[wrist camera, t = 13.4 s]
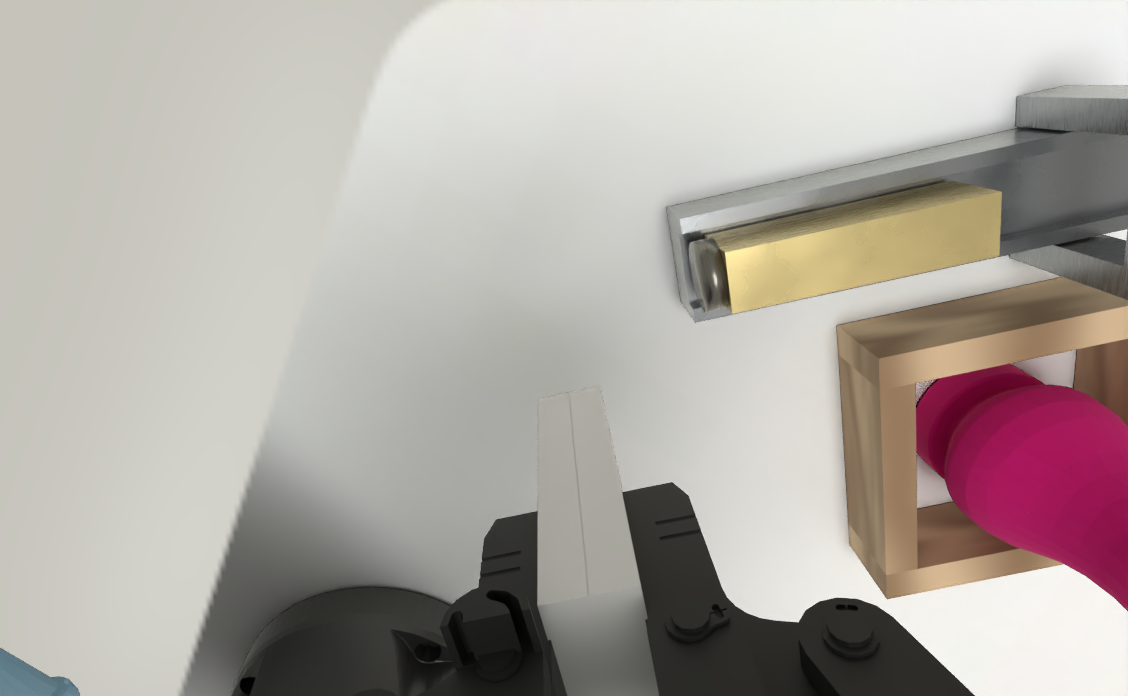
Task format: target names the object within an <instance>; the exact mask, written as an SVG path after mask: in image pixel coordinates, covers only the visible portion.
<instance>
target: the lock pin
mask: <svg viewBox="0 0 1128 696" xmlns="http://www.w3.org/2000/svg"><path fill="white" fill-rule="evenodd" d="M1001 202H1002V192H1001V191H997V190H992V189H988V188H983V187H979V186H974V185H970V184H966V183H961V182H957V181H952V180H951V181H947V182H942V183H938V184H933V185H929V186H924V187H920V188H915V189H911V190H906V191H902V192H897V193H893V194H888V195H884V196H879V197H875V198H870V199H866V200H861V201H857V202H852V203H848V204H843V205H839V206H834V207H829V208H825V209H820V210H816V211H811V212H807V213H802V214H798V215H793V216H789V217H784V218H780V219H775V220H771V221H766V222H762V223H757V224H753V225H748V226H744V227H739V228H735V229H730V230H726V231H721V232H717V233H712V234H708V235H705V239H703V240H698V241H694V242H690V244H689V252H688V253H689V266H690V272H691V278H692V282H693V287H694V290H695V294H696V297H697V300H698V303H699V305H700V307H701V309H702V311H703V312H705V313H706V312H710V311H715V310H720V309H724V308H728V309H729V311H730V312H731V313H732V314H735V313H739V312H744V311H748V310H753V309H758V308H762V307H767V306H771V305H776V304H781V303H785V302H790V301H795V300H799V299H804V298H808V297H813V296H818V295H822V294H827V293H831V292H836V291H841V290H845V289H850V288H854V287H859V286H864V285H868V284H873V283H878V282H882V281H887V280H891V279H896V278H901V277H905V276H910V275H914V274H919V273H924V272H928V271H933V270H938V269H942V268H947V267H951V266H956V265H961V264H965V263H970V262H974V261H979V260H984V259H988V258H993V257H997V256H999V252H1000V227H1001Z"/></svg>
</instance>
